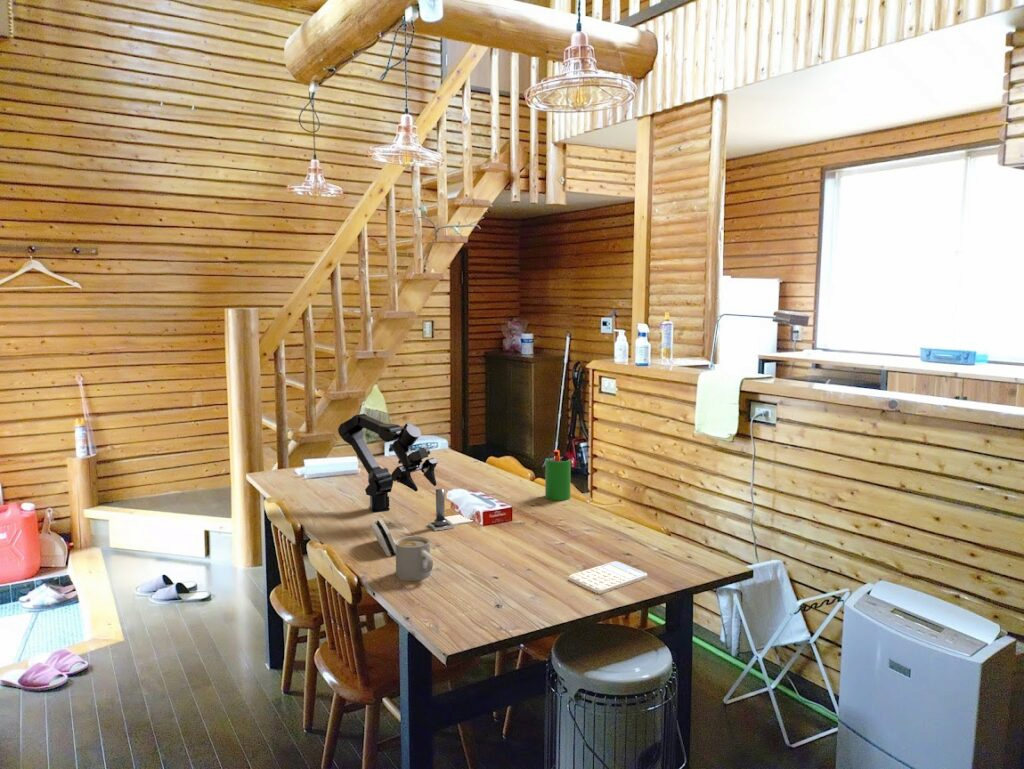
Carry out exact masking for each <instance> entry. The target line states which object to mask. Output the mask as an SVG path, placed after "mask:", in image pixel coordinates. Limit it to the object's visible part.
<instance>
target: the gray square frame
mask: <svg viewBox="0 0 1024 769" xmlns="http://www.w3.org/2000/svg"><path fill="white" fill-rule="evenodd" d="M427 526H428V527H429V528H430V529H431V528H432V529H431V530H432V531H434V532H438V531H437V530H440V531H444V529H446V530H451V529H454V528H455V525H453V524H451V523H450V522H449V521H447V526H442V527H435V526H434V521H430V522H427Z"/></svg>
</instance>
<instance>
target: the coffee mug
mask: <svg viewBox="0 0 1024 769" xmlns="http://www.w3.org/2000/svg"><path fill="white" fill-rule="evenodd" d="M430 540H431V539H429V538H428V537H425V536H422V535H421V536H420V535H409V536H405V537H404V536H403V537H400V538H398V539H397V540H395V541H396V553H395V575H396V578H397V579H398V580H401V581H405V582H417V581H421V580H425V579H427V578H428V577H430V575H431V571H432V570H433V567H434V560H433V559H434V558H433V556H432V554H431V545H430V544H431V542H430Z"/></svg>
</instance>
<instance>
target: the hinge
mask: <svg viewBox="0 0 1024 769" xmlns="http://www.w3.org/2000/svg"><path fill="white" fill-rule="evenodd" d="M370 526H371V528H372V531H373V533H374V536H375V538H376V540H378V541H377V542H378V544H379V546H380V547H381V548H383V549H382V550H383V552H384V553H385V555H386V557H387V556H389V557H391V556H392V553H393V554H396V541H397V540H395V538H394V537H393V536H392V533H391V532H390V530H389V528H388V526H387V525H386V524H385V521H384V520H383V519H377V520H376V521H373V522H371V523H370Z"/></svg>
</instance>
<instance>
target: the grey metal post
mask: <svg viewBox="0 0 1024 769" xmlns="http://www.w3.org/2000/svg"><path fill="white" fill-rule="evenodd" d="M445 504H446V503H445V489H444V488H436V489H435V517H436V518H435V519H434V521H433V522H434V526H435V527H442V526H448V525H447V519H445V517H446V515H445V514H446V511H445Z"/></svg>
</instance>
